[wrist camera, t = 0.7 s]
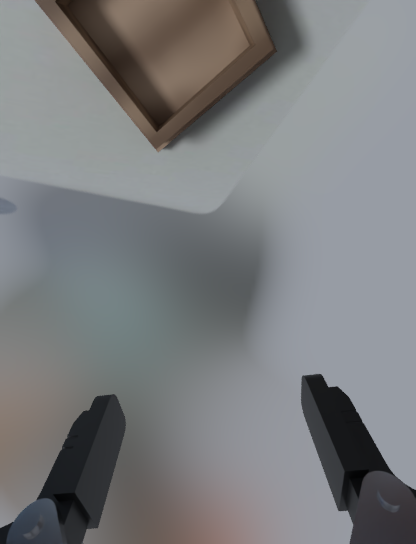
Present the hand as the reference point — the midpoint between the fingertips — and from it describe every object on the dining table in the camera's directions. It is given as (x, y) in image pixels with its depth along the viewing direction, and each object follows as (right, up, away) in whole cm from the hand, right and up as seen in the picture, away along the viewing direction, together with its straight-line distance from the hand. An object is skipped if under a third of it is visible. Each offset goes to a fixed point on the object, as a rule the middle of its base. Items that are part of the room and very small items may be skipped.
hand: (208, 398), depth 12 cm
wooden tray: (-4, +29, +15) cm, 33 cm away
